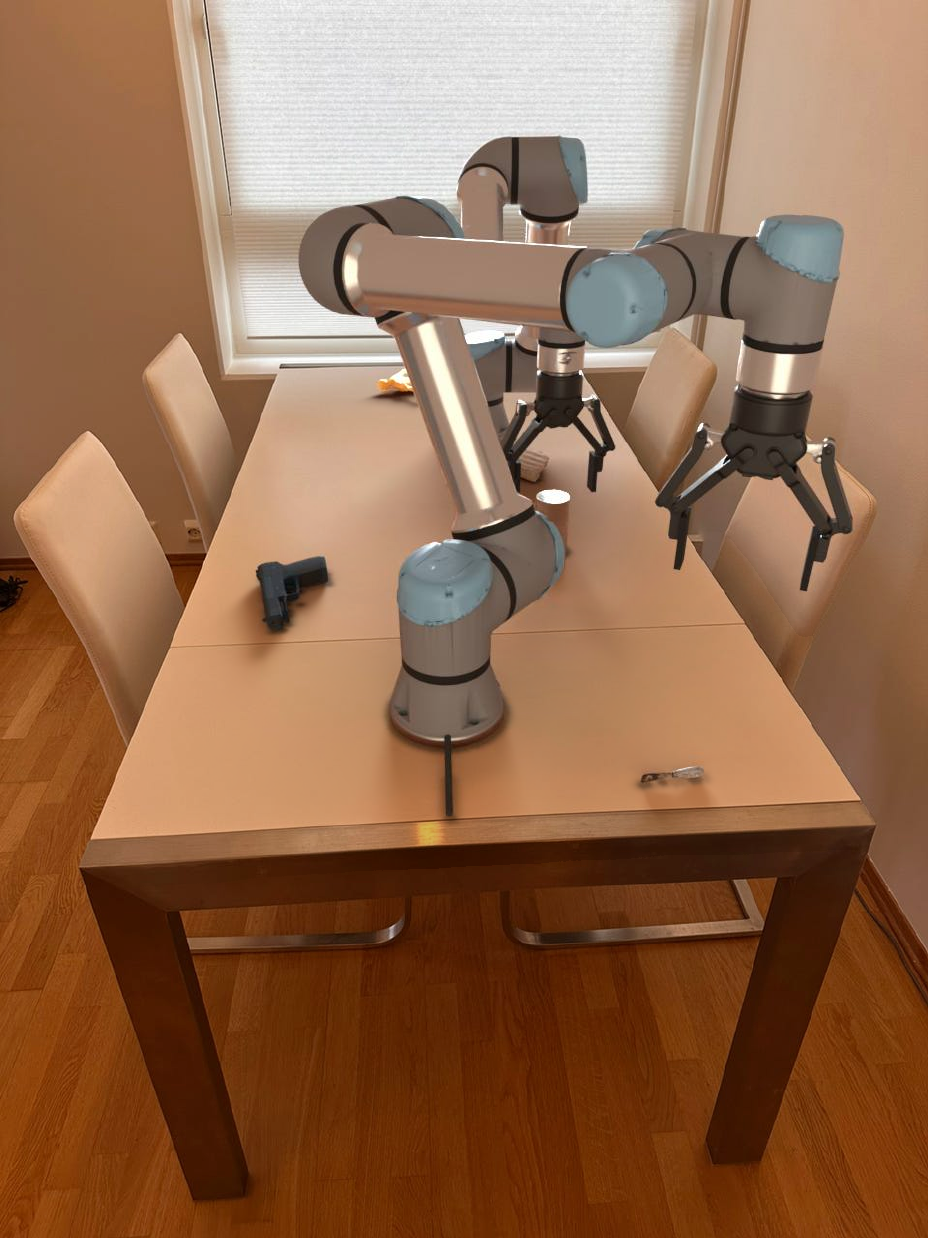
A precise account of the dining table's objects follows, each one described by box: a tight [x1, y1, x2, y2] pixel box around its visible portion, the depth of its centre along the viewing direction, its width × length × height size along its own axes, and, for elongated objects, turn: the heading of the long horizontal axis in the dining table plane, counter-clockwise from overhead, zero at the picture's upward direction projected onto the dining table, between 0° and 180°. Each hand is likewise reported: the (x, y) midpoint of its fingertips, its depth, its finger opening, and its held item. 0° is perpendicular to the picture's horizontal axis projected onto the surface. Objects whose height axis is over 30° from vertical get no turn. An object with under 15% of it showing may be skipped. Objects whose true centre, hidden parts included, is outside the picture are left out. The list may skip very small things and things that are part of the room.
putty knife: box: [640, 765, 705, 784], centre depth 109 cm, size 1×8×2 cm, turn 103°
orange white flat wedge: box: [377, 367, 413, 392], centre depth 240 cm, size 20×20×4 cm
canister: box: [535, 489, 571, 555], centre depth 158 cm, size 6×6×11 cm
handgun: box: [255, 555, 329, 631], centre depth 146 cm, size 3×17×12 cm
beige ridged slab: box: [506, 448, 550, 483], centre depth 192 cm, size 13×12×2 cm
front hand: (739, 574), depth 100 cm, fingers open, 13 cm apart
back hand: (553, 492), depth 154 cm, fingers open, 13 cm apart
